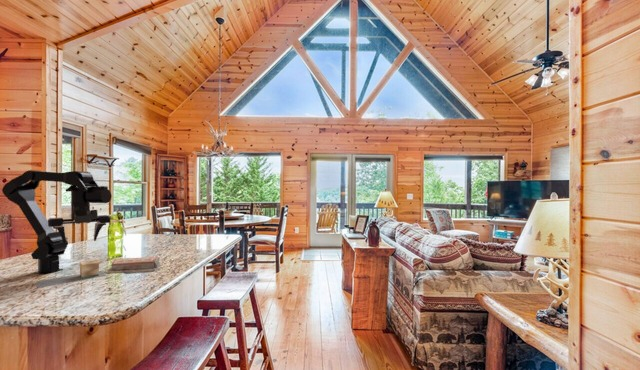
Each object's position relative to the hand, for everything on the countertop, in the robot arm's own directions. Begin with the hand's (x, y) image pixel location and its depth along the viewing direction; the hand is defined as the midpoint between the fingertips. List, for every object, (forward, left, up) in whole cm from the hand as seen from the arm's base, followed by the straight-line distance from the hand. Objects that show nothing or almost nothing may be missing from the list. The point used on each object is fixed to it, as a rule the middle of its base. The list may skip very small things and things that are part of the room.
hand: (80, 242), depth 116 cm
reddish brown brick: (+16, +10, -13) cm, 23 cm away
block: (+8, -3, -7) cm, 11 cm away
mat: (+6, -7, -12) cm, 15 cm away
